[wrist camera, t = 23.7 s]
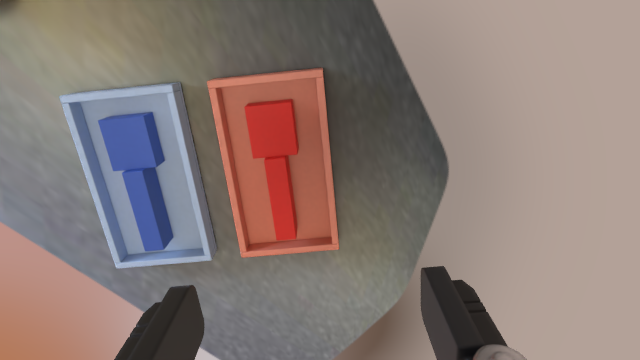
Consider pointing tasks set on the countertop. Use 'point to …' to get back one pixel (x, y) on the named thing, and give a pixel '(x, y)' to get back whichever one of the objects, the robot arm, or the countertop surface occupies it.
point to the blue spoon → (139, 172)
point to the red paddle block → (276, 157)
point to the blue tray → (173, 174)
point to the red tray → (305, 167)
